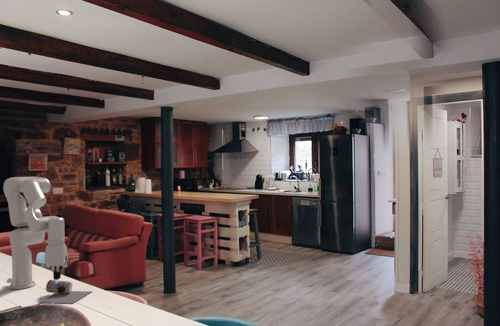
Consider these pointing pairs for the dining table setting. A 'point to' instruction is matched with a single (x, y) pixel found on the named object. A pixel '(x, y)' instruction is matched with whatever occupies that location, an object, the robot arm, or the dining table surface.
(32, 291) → the dining table surface
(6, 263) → the dining table surface
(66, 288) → the beverage can
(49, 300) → the rubber mat
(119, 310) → the dining table surface
